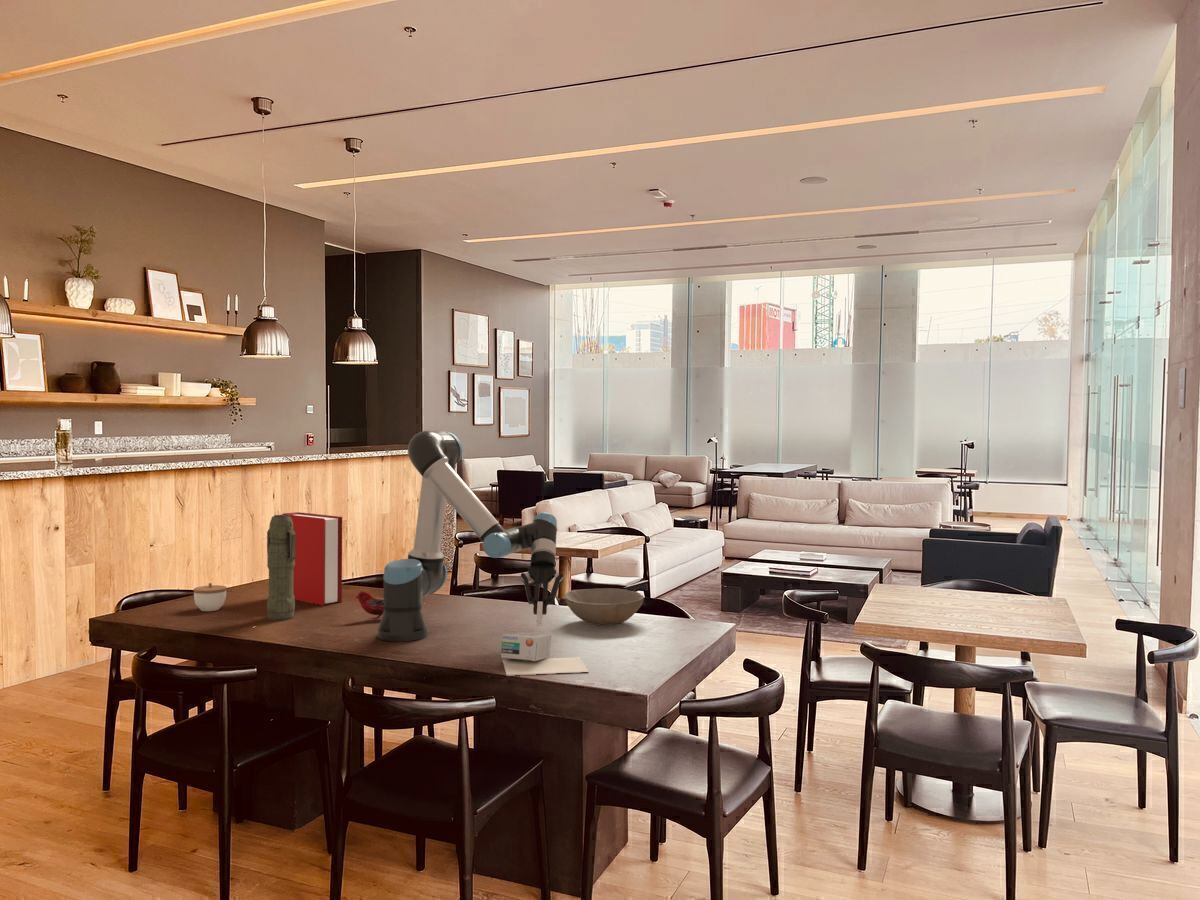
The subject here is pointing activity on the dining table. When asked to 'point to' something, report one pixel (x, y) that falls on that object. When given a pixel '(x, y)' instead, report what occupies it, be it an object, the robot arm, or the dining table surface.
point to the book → (317, 558)
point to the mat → (544, 666)
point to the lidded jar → (210, 597)
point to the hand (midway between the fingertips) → (539, 623)
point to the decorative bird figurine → (371, 604)
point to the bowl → (604, 605)
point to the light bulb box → (526, 646)
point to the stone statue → (281, 568)
